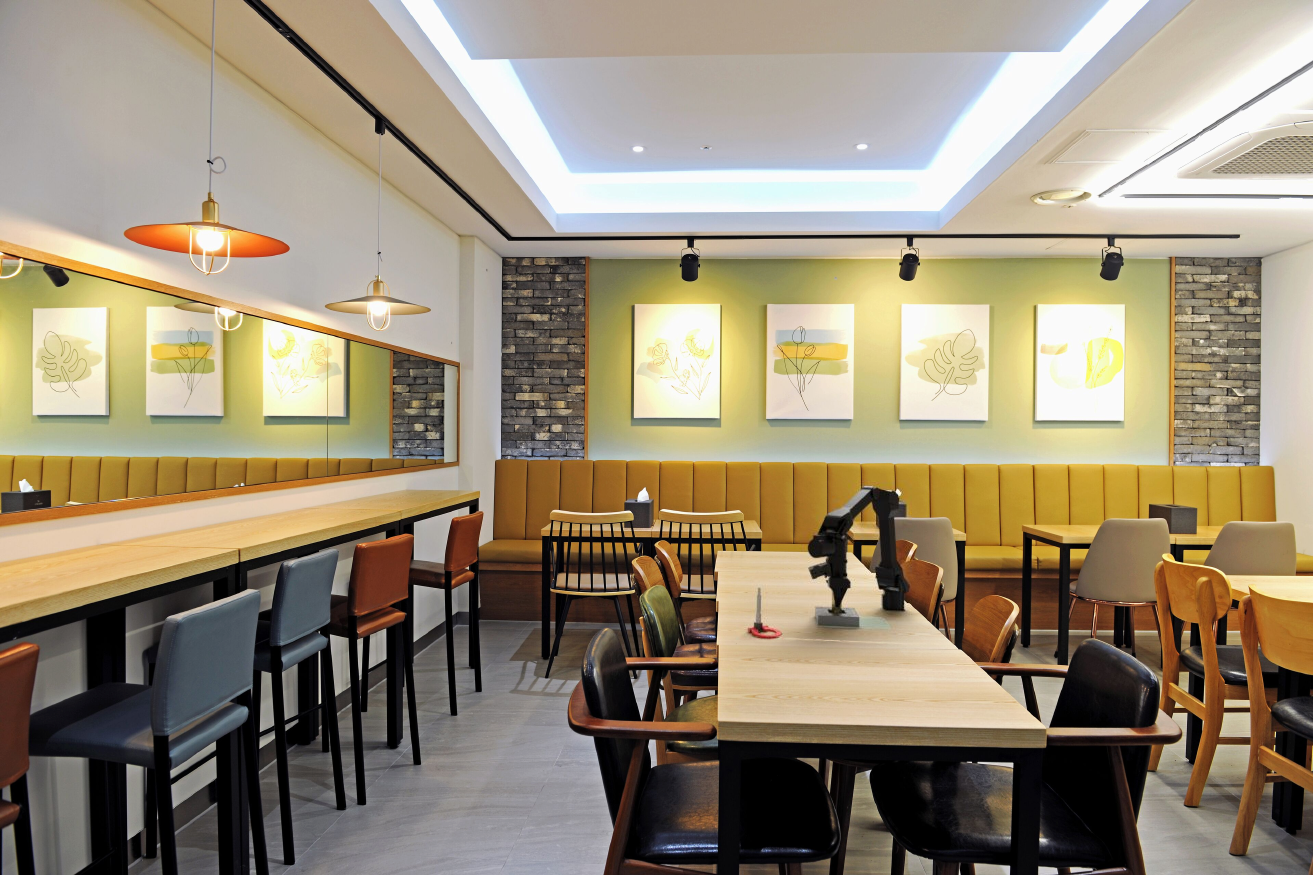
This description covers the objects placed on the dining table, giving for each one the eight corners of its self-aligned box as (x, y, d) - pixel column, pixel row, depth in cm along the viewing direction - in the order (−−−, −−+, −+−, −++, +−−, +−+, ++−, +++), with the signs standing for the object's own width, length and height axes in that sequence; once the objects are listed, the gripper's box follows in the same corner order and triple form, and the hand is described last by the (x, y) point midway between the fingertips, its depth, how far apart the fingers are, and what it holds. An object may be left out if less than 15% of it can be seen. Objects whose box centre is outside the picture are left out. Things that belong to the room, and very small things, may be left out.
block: (854, 617, 229) (854, 607, 229) (859, 626, 217) (859, 616, 217) (815, 615, 231) (815, 606, 231) (818, 625, 219) (818, 615, 219)
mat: (883, 618, 229) (883, 617, 229) (891, 630, 214) (891, 629, 214) (814, 616, 232) (814, 614, 232) (818, 627, 217) (818, 626, 217)
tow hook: (787, 638, 208) (768, 628, 216) (789, 593, 207) (769, 585, 215) (763, 641, 204) (744, 632, 212) (764, 596, 203) (745, 588, 212)
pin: (841, 614, 225) (841, 582, 225) (842, 617, 222) (842, 584, 222) (831, 614, 225) (831, 582, 225) (832, 616, 222) (832, 583, 223)
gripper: (808, 549, 234) (808, 598, 234) (812, 559, 216) (812, 612, 216) (843, 550, 233) (843, 599, 233) (850, 560, 214) (850, 613, 214)
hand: (836, 606), depth 224 cm, fingers closed on pin, 3 cm apart
